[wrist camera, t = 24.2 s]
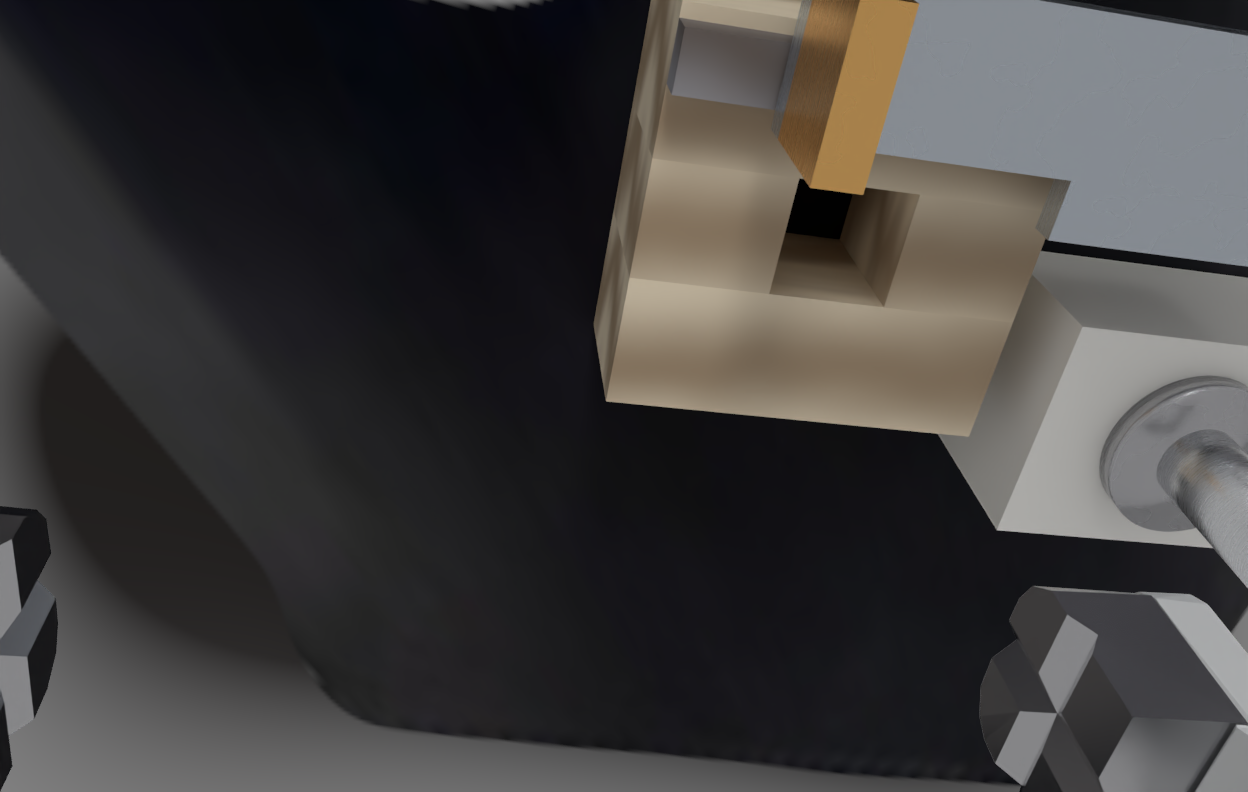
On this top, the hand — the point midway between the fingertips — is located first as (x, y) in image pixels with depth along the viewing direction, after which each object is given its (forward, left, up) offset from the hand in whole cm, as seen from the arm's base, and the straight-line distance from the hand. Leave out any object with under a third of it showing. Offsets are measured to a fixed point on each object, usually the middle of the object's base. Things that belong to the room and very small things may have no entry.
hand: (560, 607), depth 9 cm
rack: (+13, +27, -33) cm, 45 cm away
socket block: (+7, +12, -33) cm, 36 cm away
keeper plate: (+1, +17, -26) cm, 31 cm away
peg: (+13, +27, -32) cm, 44 cm away
